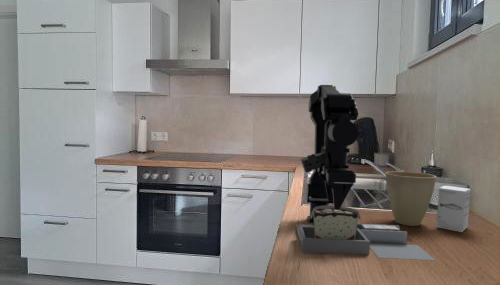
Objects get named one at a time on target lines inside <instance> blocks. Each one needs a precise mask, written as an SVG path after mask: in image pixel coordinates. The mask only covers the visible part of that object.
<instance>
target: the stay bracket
mask: <svg viewBox="0 0 500 285" xmlns="http://www.w3.org/2000/svg"><path fill="white" fill-rule="evenodd" d="M362 225H379V224H375V223H373V224H372V223H371V224H370V223H358V224H357V228H359V229H360V231H361V232H362V233H363V234H364V235H365V236H366V238H367V239H368V240H369V241H370V243H379V244H402V245H408V231H407V230H405V231H402V230H399V231H384V230H362ZM385 225H386V226H396V227H397V228H398V229H400V225H399V224H397V225H396V224H385Z"/></svg>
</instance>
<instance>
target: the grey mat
mask: <svg viewBox="0 0 500 285" xmlns="http://www.w3.org/2000/svg"><path fill="white" fill-rule="evenodd" d="M370 249H371V250H372V252H373V253H374V254H375V256H376V257H377V258H378V259H396V260H397V259H398V260H399V259H401V260H420V261H421V260H423V261H436V259H435V258H434V257H432V256H431V255H430V254H429V253H428V252H426V251H425V250H424V249H422V248H421V247H420V246H419V245H418V244H417V245H416V244H389V243H370Z"/></svg>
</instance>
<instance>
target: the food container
mask: <svg viewBox="0 0 500 285" xmlns="http://www.w3.org/2000/svg"><path fill="white" fill-rule="evenodd" d="M312 216H313V219H314V223H313V225H314V234H315V238H321V239H344V240H355V238H356V231H357V224H359V220H362V219H361V218H362V217H361V213H360V211H359V210H358V209H356V208H353V207H348V206H343V205H342V206H341V208H340V209H339V210H335V208H334V205H330V204H328V205H326V206H318V207H315V208H313V211H312V214H311V219H312Z"/></svg>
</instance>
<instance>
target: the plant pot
mask: <svg viewBox="0 0 500 285" xmlns="http://www.w3.org/2000/svg"><path fill="white" fill-rule="evenodd" d="M385 180H386V181H385V183H386V190H387V195H388V200H389V201H388V202H389V204H390V209H391V213H392V215H393V218H394V221H395V223H396V224H398V225H399V224H400V225H402V226H408V227H409V226H410V227H419V226H421V225H422V221H423V220H424V219H425V216H426V214H427V212H428V208H429V206H430V204H431V199H432V197H433V192H434V191H435V190H434V189H435V186H436V180H437V176H436V175H434V174H429V173H425V172H424V173H423V172H413V171H400V170H398V171H392V170H391V171H385Z"/></svg>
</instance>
